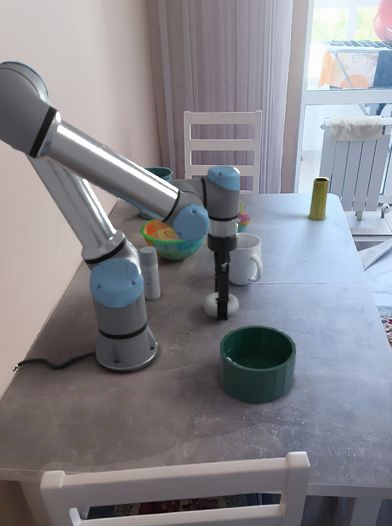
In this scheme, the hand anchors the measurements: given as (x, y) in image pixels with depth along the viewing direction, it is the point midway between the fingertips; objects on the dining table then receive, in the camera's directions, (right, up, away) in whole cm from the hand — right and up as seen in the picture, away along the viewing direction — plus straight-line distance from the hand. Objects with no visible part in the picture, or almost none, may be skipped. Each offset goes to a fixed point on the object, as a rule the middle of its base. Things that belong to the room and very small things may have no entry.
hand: (220, 308), depth 132 cm
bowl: (-13, +20, +30) cm, 39 cm away
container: (-20, +4, +9) cm, 22 cm away
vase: (+39, +39, +52) cm, 76 cm away
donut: (0, 0, 0) cm, 1 cm away
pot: (+7, -18, -21) cm, 29 cm away
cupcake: (+8, +32, +44) cm, 55 cm away
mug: (+8, +9, +15) cm, 19 cm away
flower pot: (-23, +43, +60) cm, 77 cm away
